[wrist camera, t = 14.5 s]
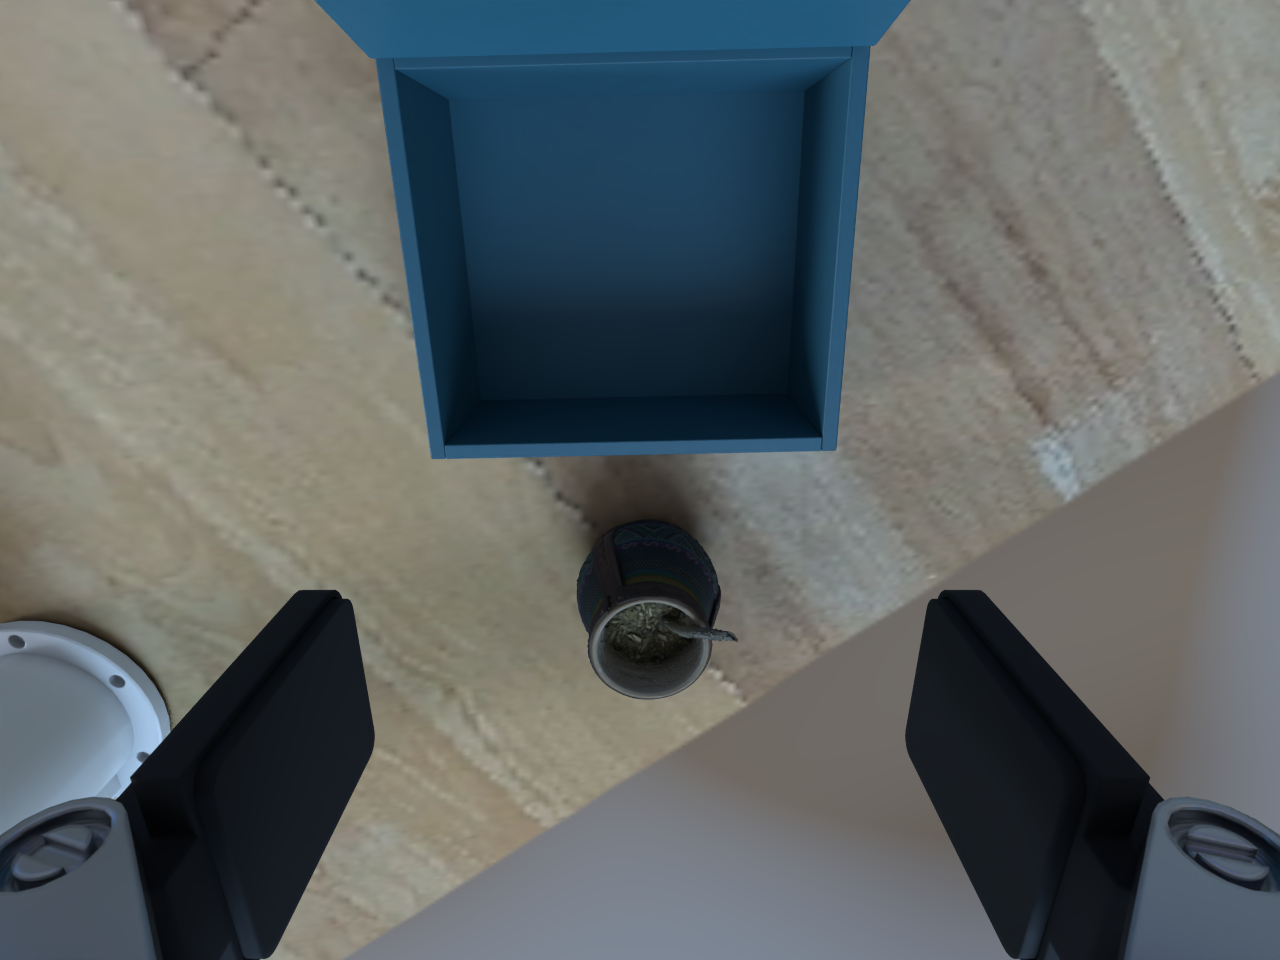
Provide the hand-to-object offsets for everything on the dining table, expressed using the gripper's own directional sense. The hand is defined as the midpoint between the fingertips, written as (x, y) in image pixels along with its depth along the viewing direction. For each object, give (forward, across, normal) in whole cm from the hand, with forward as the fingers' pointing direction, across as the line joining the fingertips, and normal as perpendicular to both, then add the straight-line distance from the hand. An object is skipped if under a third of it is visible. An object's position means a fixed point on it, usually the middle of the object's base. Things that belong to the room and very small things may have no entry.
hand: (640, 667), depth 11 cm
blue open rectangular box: (+24, 0, +5) cm, 25 cm away
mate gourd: (+25, 0, -11) cm, 27 cm away
